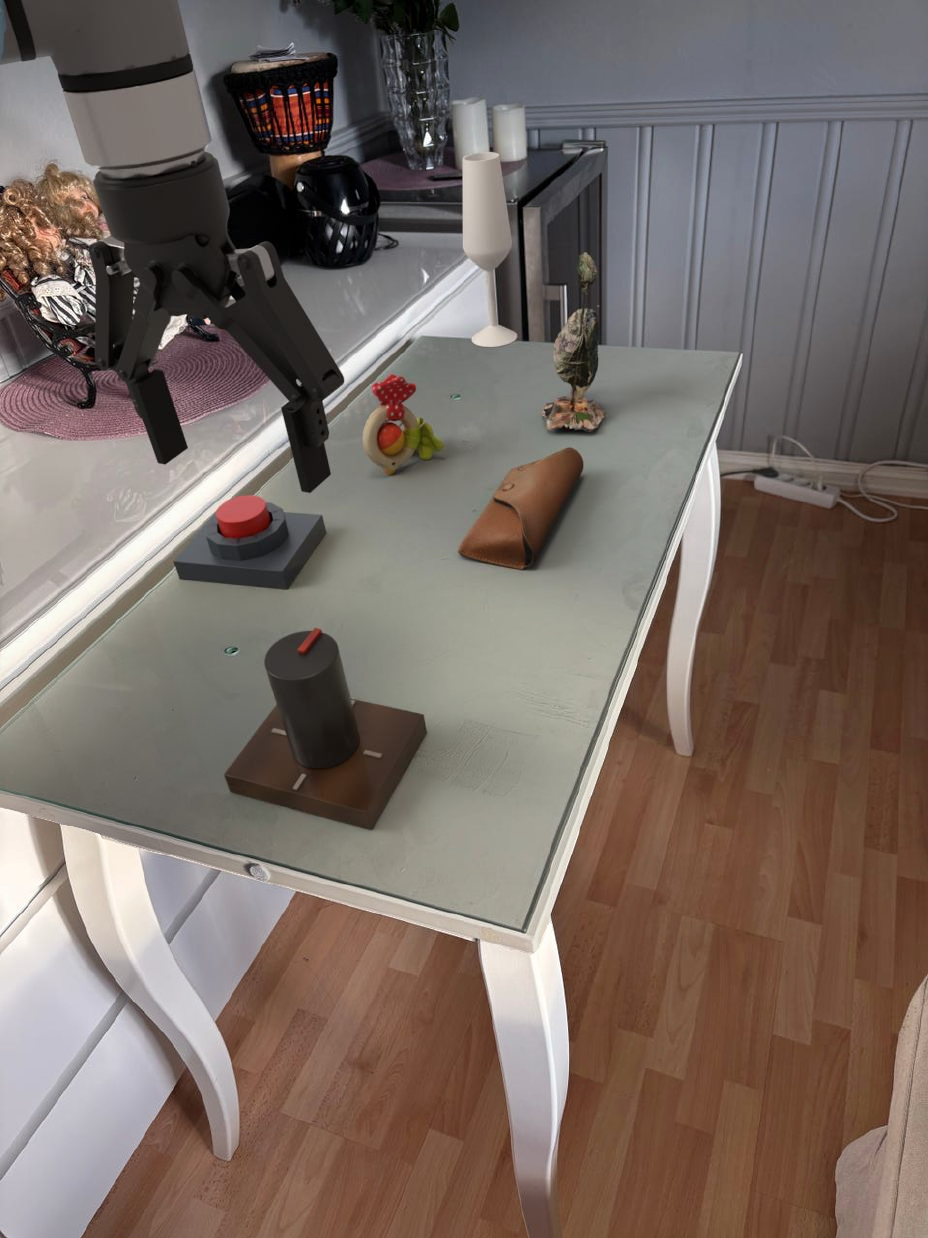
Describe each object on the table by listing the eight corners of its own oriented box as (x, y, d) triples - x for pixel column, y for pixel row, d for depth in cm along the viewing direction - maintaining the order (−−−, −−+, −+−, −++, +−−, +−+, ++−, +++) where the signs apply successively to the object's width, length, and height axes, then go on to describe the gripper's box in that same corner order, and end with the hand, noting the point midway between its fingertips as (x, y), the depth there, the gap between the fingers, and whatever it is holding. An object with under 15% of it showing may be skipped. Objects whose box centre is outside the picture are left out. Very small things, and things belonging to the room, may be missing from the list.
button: (212, 537, 90) (206, 520, 89) (234, 510, 94) (229, 493, 92) (257, 541, 89) (252, 524, 87) (278, 513, 92) (274, 496, 91)
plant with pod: (619, 397, 113) (621, 229, 101) (594, 440, 105) (593, 264, 93) (556, 392, 116) (551, 228, 103) (527, 433, 108) (518, 262, 96)
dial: (339, 776, 66) (314, 683, 60) (278, 760, 68) (248, 668, 62) (371, 726, 70) (350, 634, 64) (312, 712, 72) (287, 621, 66)
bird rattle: (412, 496, 103) (459, 438, 105) (368, 431, 95) (420, 369, 97) (375, 481, 107) (422, 425, 109) (330, 416, 98) (381, 357, 100)
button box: (179, 579, 91) (167, 546, 89) (224, 524, 99) (215, 492, 96) (287, 589, 88) (278, 555, 86) (326, 532, 96) (319, 499, 93)
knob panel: (230, 792, 69) (222, 773, 67) (295, 702, 76) (290, 683, 74) (371, 830, 65) (366, 811, 63) (427, 732, 72) (423, 712, 70)
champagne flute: (464, 345, 130) (447, 163, 115) (480, 327, 135) (465, 150, 120) (509, 348, 128) (497, 162, 113) (523, 329, 133) (513, 149, 118)
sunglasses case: (510, 464, 102) (537, 420, 97) (563, 497, 102) (592, 455, 97) (453, 556, 89) (480, 510, 84) (513, 593, 89) (545, 550, 85)
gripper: (359, 145, 52) (410, 469, 66) (53, 143, 62) (151, 424, 76) (283, 182, 47) (354, 524, 61) (-36, 173, 57) (86, 468, 71)
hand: (242, 469), depth 68 cm, fingers open, 13 cm apart
